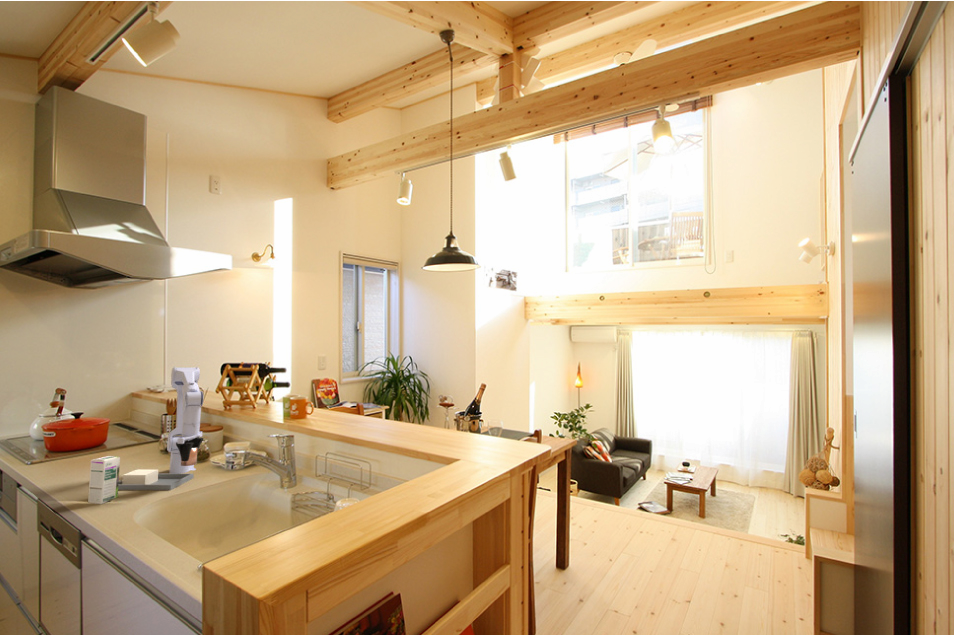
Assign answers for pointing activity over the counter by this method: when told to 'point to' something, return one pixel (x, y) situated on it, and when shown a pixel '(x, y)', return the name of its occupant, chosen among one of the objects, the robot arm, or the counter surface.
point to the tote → (159, 482)
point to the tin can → (191, 458)
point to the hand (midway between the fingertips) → (188, 459)
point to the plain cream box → (140, 477)
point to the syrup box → (104, 479)
